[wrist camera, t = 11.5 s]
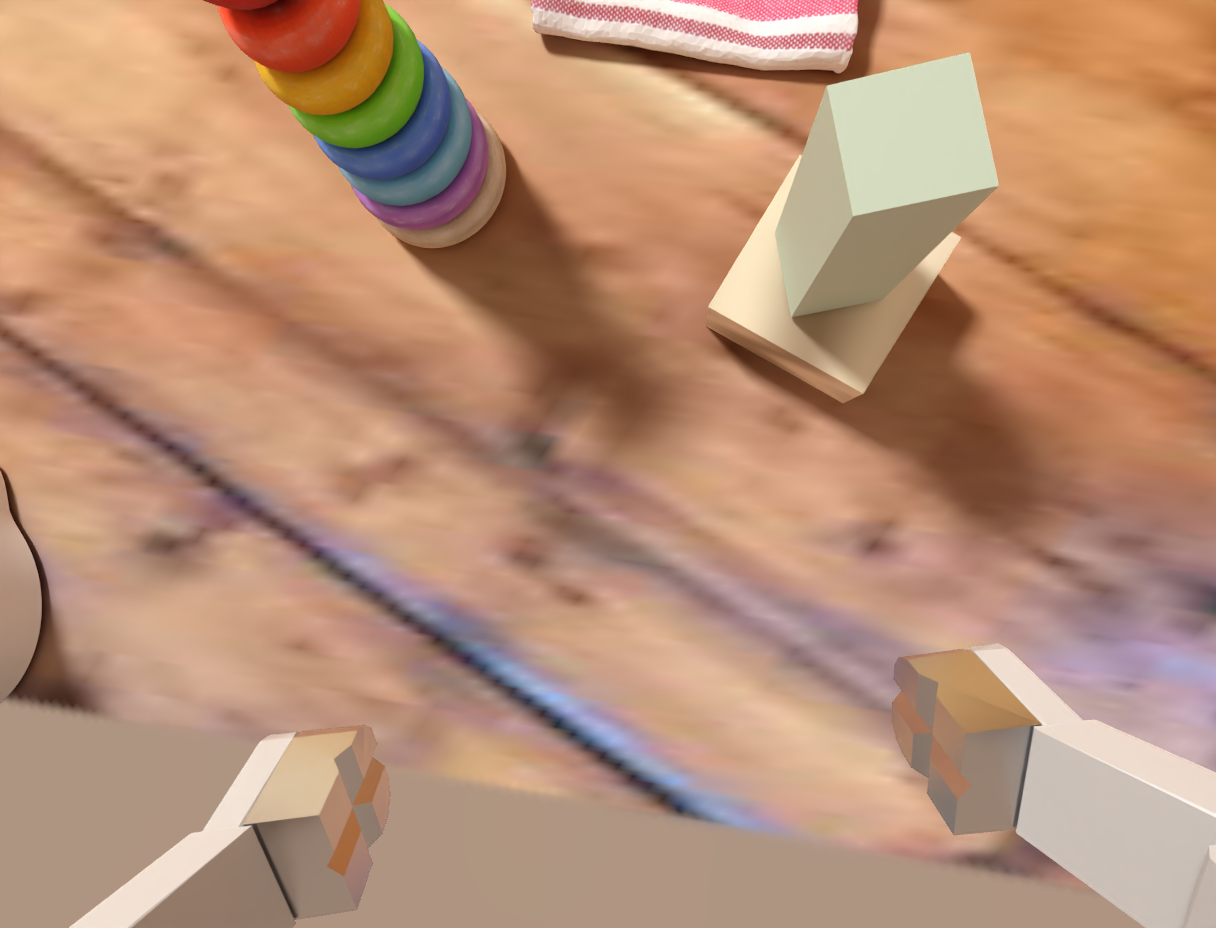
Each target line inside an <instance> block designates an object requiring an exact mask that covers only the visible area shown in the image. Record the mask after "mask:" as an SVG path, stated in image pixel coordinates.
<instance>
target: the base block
mask: <svg viewBox="0 0 1216 928" xmlns="http://www.w3.org/2000/svg"><path fill="white" fill-rule="evenodd" d="M801 157H802V155H800V156H799V157H798V159H797V161H796V162H795V164H794V166H793V167H792V169H791V170H790V172H789V174H788V175H787V177H786V179H785V180H784V182H783V184H782V185H781V187H780V189H779V190H778V192H777V194H776V195H775V197H774V199H773V200H772V202H771V204H770V205H769V207H768V209H767V210H766V212H765V214H764V215H763V217H762V218H761V220H760V222H759V223H758V225H757V227H756V228H755V230H754V232H753V233H752V235H751V237H750V238H749V240H748V242H747V243H746V245H745V247H744V248H743V250H742V252H741V253H740V255H739V257H738V258H737V260H736V261H735V263H734V265H733V266H732V268H731V270H730V271H729V273H728V275H727V276H726V278H725V280H724V281H723V283H722V285H721V286H720V288H719V290H718V291H717V293H716V295H715V296H714V298H713V300H712V301H711V303H710V305H709V306H708V313H707V323H706V326H707V327H708V328H710V329H712V330H714V331H715V332H717V333H719V334H721V335H722V336H724V337H726V338H728V339H730V340H731V341H733V342H735V343H737V344H738V345H740V346H742V347H744V348H746V349H747V350H749V351H751V352H753V353H754V354H756V355H758V356H760V357H761V358H763V359H765V360H767V361H769V362H770V363H772V364H774V365H776V366H777V367H779V368H781V369H783V370H785V371H786V372H788V373H790V374H792V375H793V376H795V377H797V378H799V379H801V380H802V381H804V382H806V383H808V384H809V385H811V386H813V387H815V388H816V389H818V390H820V391H822V392H824V393H825V394H827V395H829V396H831V397H832V398H834V399H836V400H838V401H840V402H841V403H845V402H847V401H849V400H851V399H853V398H855V397H858V396H860V395H862V394H863V393H864V392H865V390H866V389H867V387H868V385H869V384H870V382H871V381H872V379H873V377H874V376H875V374H876V373H877V371H878V369H879V368H880V366H881V365H882V363H883V361H884V360H885V358H886V357H887V355H888V353H889V352H890V350H891V349H892V347H893V345H894V344H895V342H896V341H897V339H898V337H899V336H900V334H901V333H902V331H903V329H904V328H905V326H906V325H907V323H908V321H909V320H910V318H911V317H912V315H913V313H914V312H915V310H916V309H917V307H918V305H919V304H920V302H921V301H922V299H923V297H924V296H925V294H926V293H927V291H928V289H929V288H930V286H931V285H932V283H933V281H934V280H935V278H936V277H937V275H938V273H939V272H940V270H941V269H942V267H943V265H944V264H945V262H946V261H947V259H948V257H949V256H950V254H951V253H952V251H953V249H954V248H955V246H956V245H957V243H958V241H959V240H960V238H961V237H960V236H958V235H956V234H954V233H952V232H951V233H950V234H949V235H948V236H947V237H946V238H945V239H944V240H943V241H942V242H941V243H940V244H939V245H938V246H937V247H936V248H935V249H934V250H933V251H932V252H931V253H930V254H929V255H928V256H926V257H925V258H924V259H923V260H922V261H921V262H920V263H919V264H918V265H917V266H916V267H915V268H914V269H913V270H912V271H911V272H910V273H909V274H908V275H907V276H906V277H905V278H904V279H903V280H902V281H901V282H900V283H899V284H898V285H897V286H896V287H895V288H894V289H893V290H892V291H891V292H890V293H889V294H888V295H887V296H886V297H885V298H883V299H882V300H879V301H874V302H869V303H864V304H858V305H853V306H848V307H843V308H838V309H833V310H827V311H822V312H817V313H812V314H807V315H802V316H796V317H791V316H790V310H789V305H788V300H787V295H786V289H785V284H784V279H783V273H782V268H781V263H780V258H779V252H778V247H777V242H776V237H775V231H776V228H777V225H778V222H779V220H780V217H781V214H782V211H783V208H784V205H785V203H786V200H787V197H788V194H789V191H790V188H791V186H792V183H793V180H794V177H795V174H796V172H797V169H798V166H799V163H800V160H801Z"/></svg>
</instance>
